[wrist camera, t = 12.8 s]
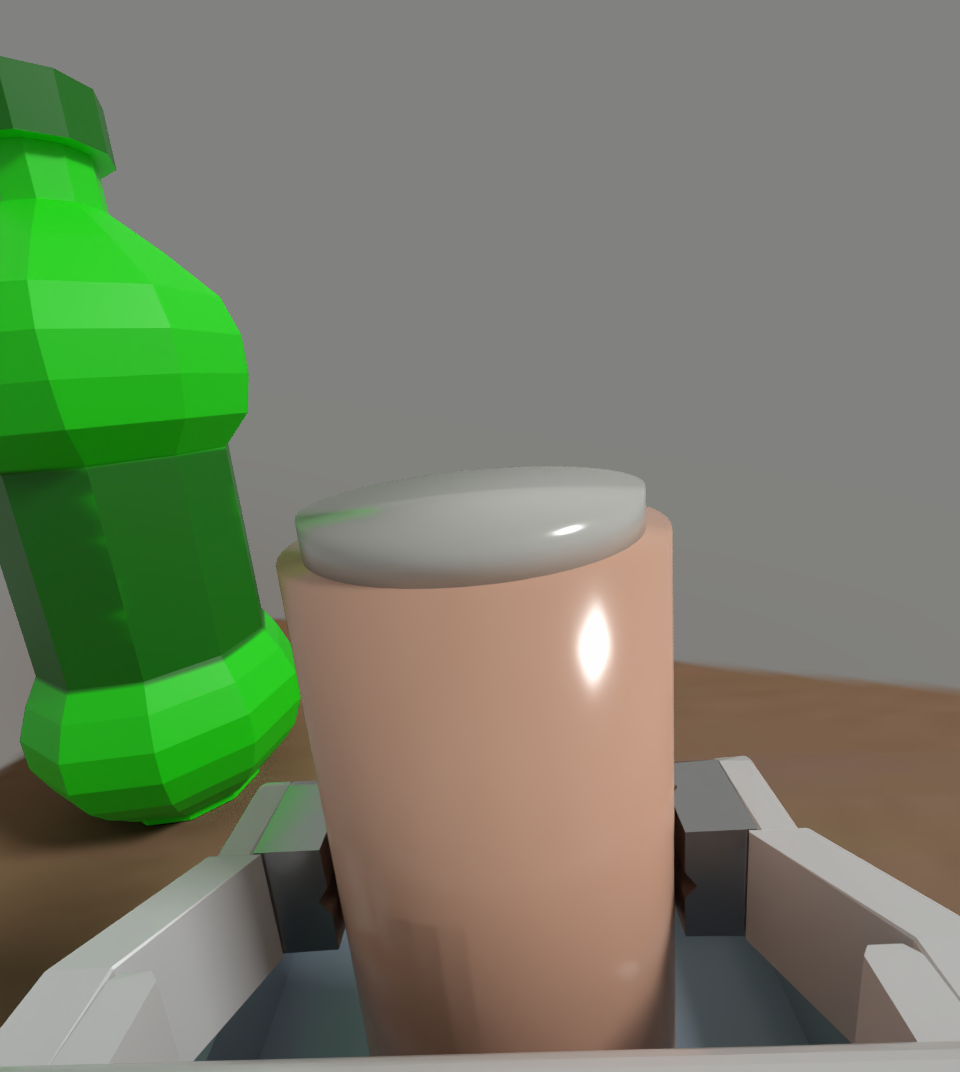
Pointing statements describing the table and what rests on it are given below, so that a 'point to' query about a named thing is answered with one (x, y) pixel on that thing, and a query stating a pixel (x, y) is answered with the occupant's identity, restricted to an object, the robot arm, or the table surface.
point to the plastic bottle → (122, 489)
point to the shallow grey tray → (701, 1005)
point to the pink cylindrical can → (495, 754)
